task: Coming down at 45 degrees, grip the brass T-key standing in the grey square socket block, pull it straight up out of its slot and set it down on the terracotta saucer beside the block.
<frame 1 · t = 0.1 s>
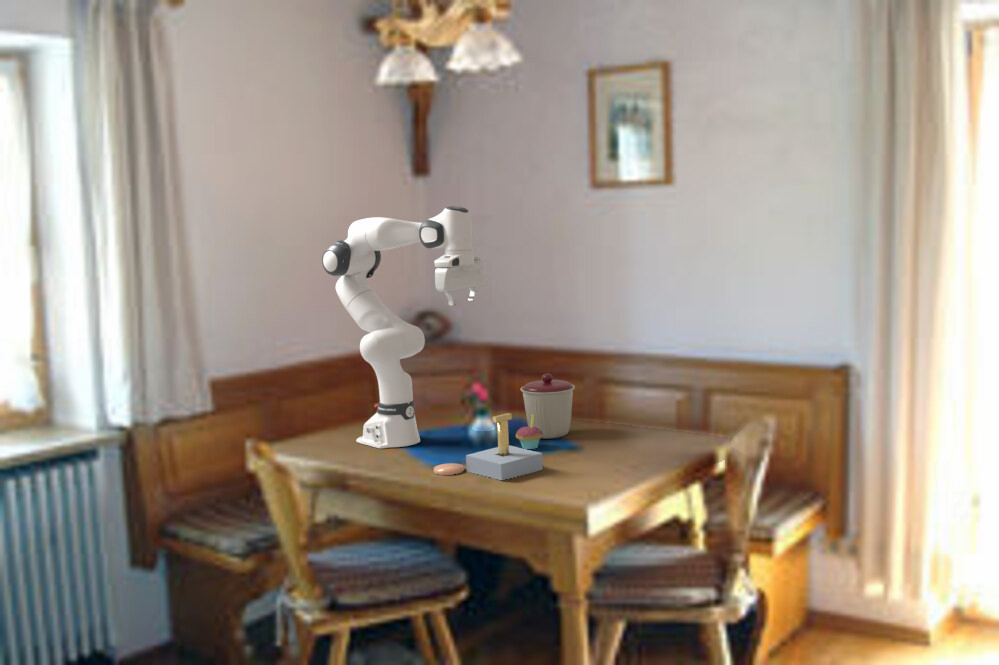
hand: (462, 303, 323), 48 cm above the table, tool pointing down, fingers open, 8 cm apart
grey square socket block: (504, 470, 308), on the table
cupcake: (529, 448, 333), on the table
saucer: (448, 471, 310), on the table
key: (503, 443, 306), in the grey square socket block
canister: (549, 436, 348), on the table
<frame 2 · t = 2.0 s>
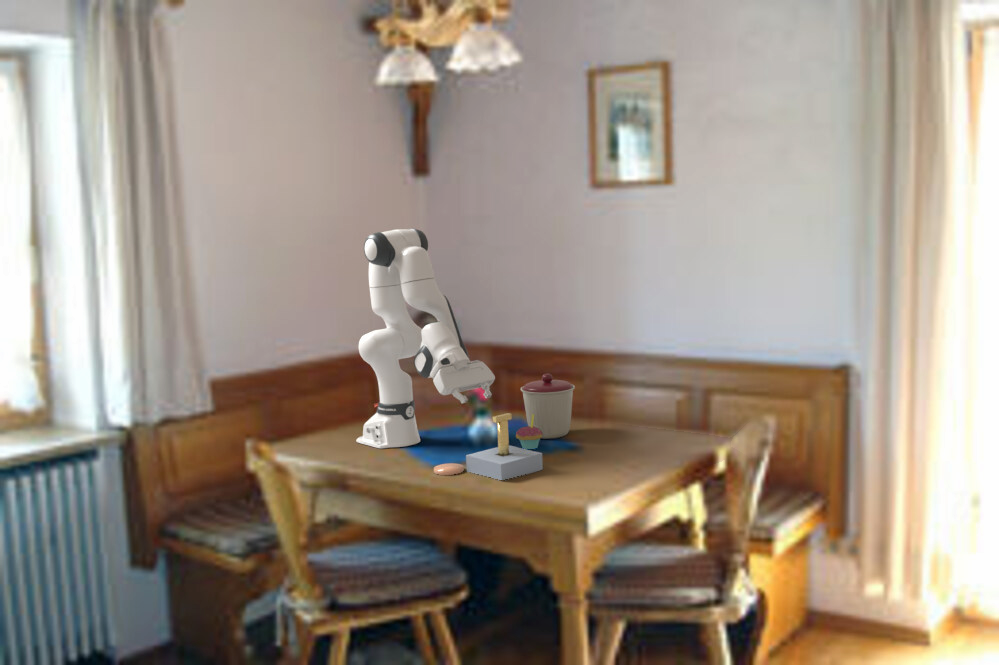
hand: (477, 399, 314), 20 cm above the table, tool tilted 45°, fingers open, 8 cm apart
nothing on the table moved.
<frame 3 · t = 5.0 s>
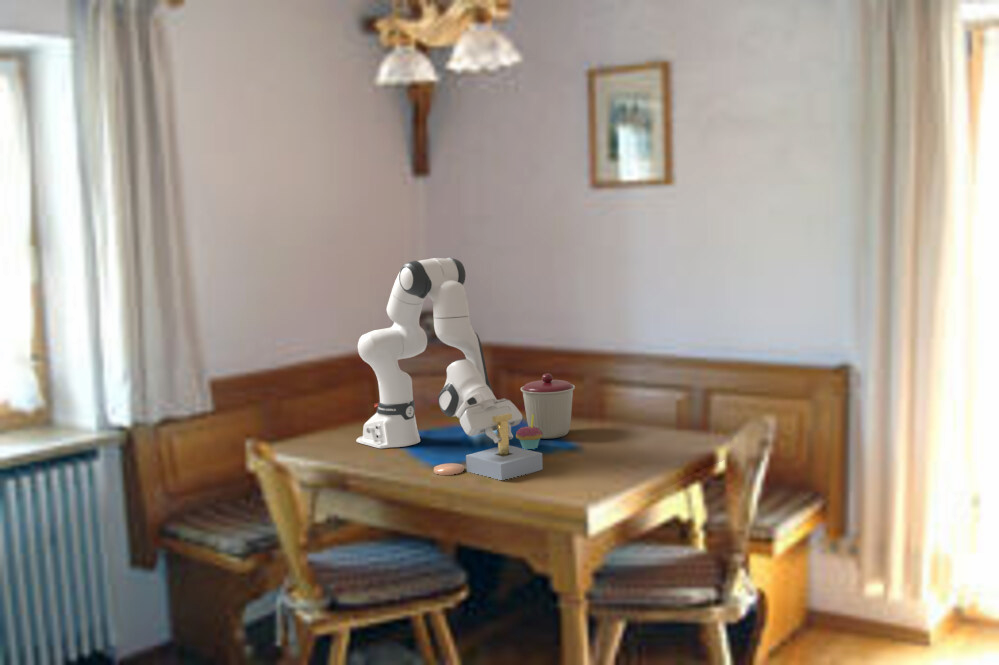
hand: (504, 440, 306), 9 cm above the table, tool tilted 45°, fingers closed on key, 3 cm apart
key: (503, 443, 306), in the grey square socket block, touching gripper
everything else where it was.
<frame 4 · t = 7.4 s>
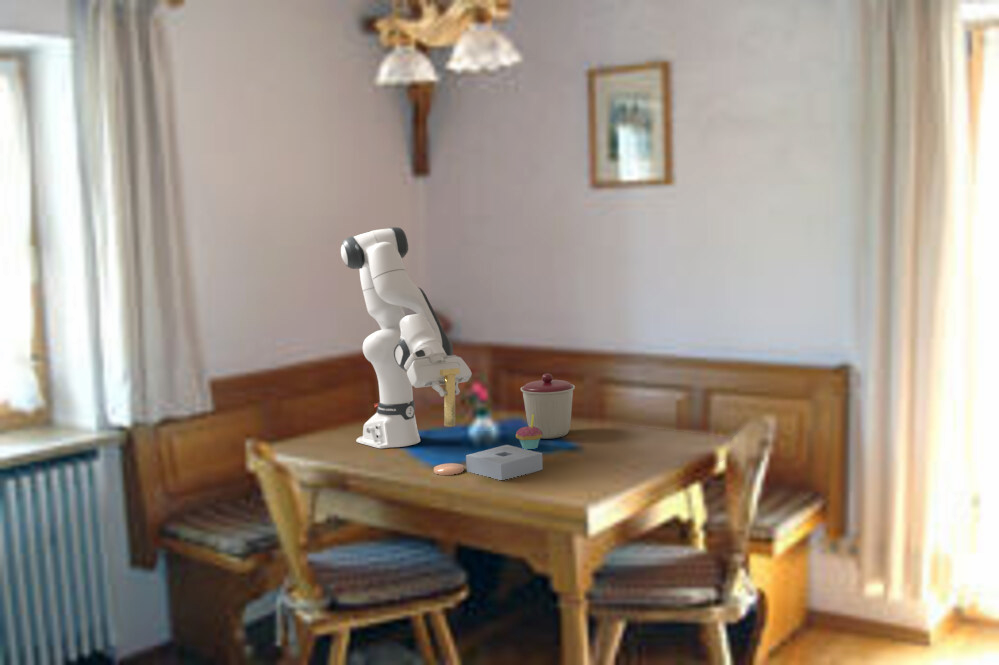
hand: (450, 394, 304), 24 cm above the table, tool tilted 45°, fingers closed on key, 3 cm apart
key: (449, 397, 305), point 23 cm above the table, touching gripper
everything else where it was.
when the fingers open (12 cm above the table, at t = 10.2 s): key drops 1 cm, resting on saucer.
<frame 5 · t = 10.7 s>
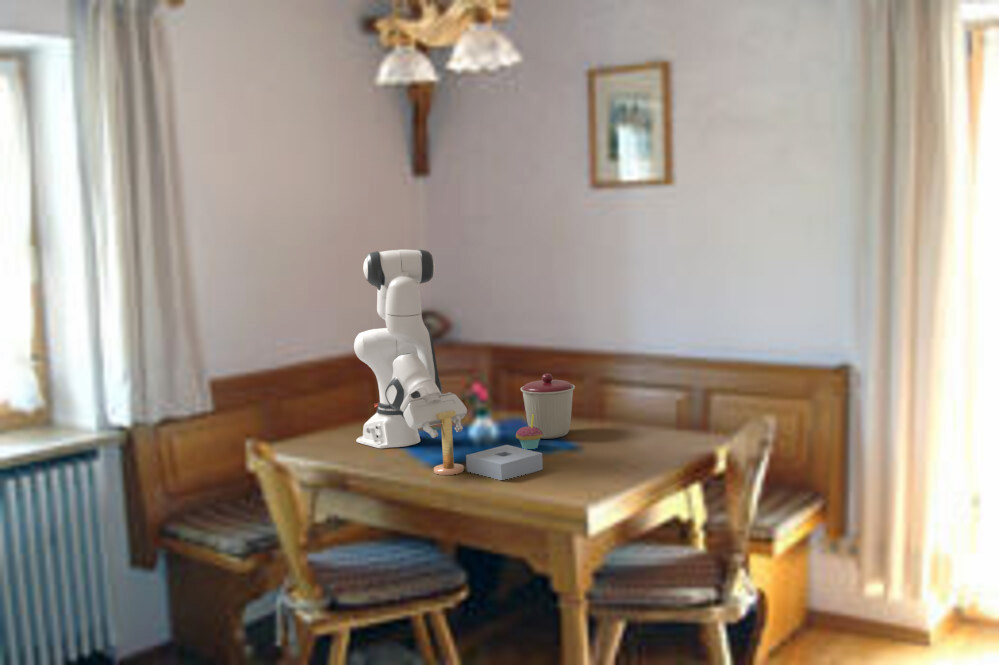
hand: (448, 433, 308), 12 cm above the table, tool tilted 45°, fingers open, 8 cm apart
key: (447, 439, 308), on the saucer, point 10 cm above the table
everything else where it was.
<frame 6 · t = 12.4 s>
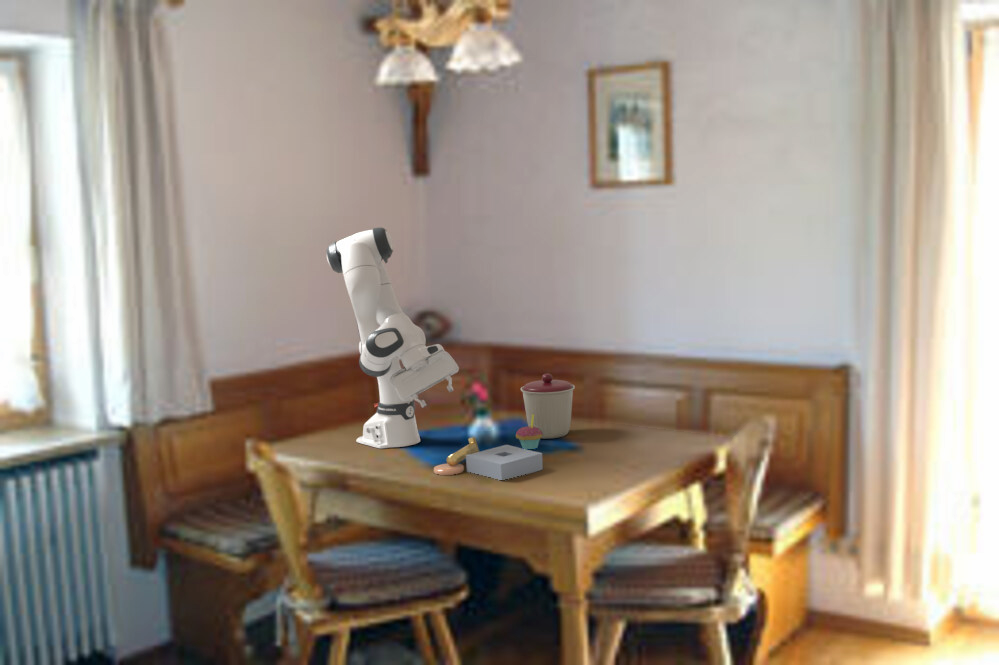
hand: (438, 398, 314), 21 cm above the table, tool tilted 35°, fingers open, 8 cm apart
key: (463, 453, 318), on the table, tilted 89°, touching saucer
everything else where it was.
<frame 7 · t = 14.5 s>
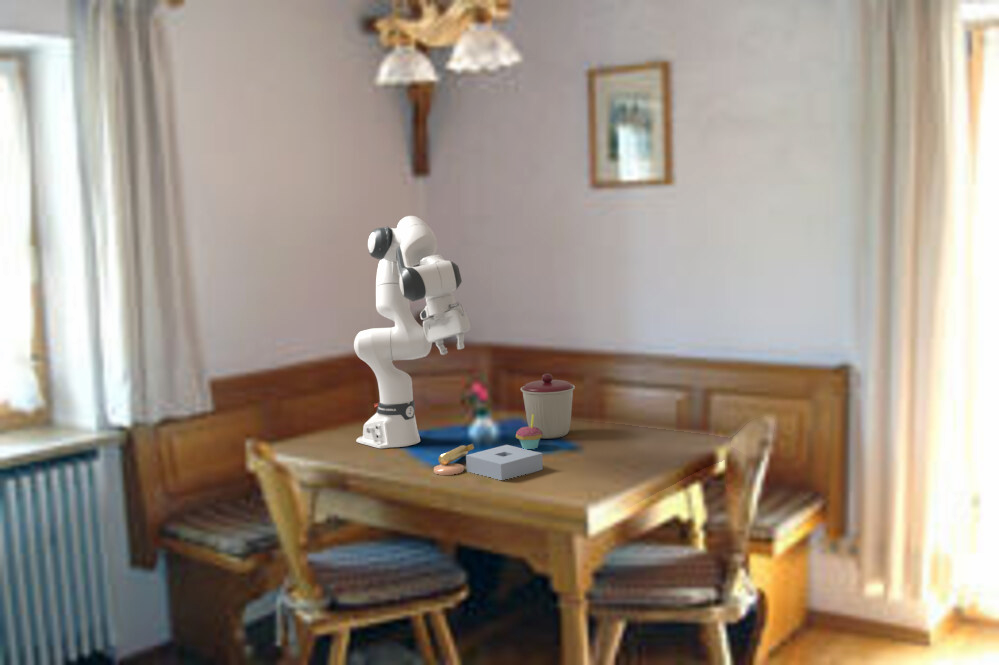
hand: (452, 351, 318), 34 cm above the table, tool tilted 15°, fingers open, 8 cm apart
key: (454, 454, 319), on the table, tilted 94°, touching saucer
everything else where it was.
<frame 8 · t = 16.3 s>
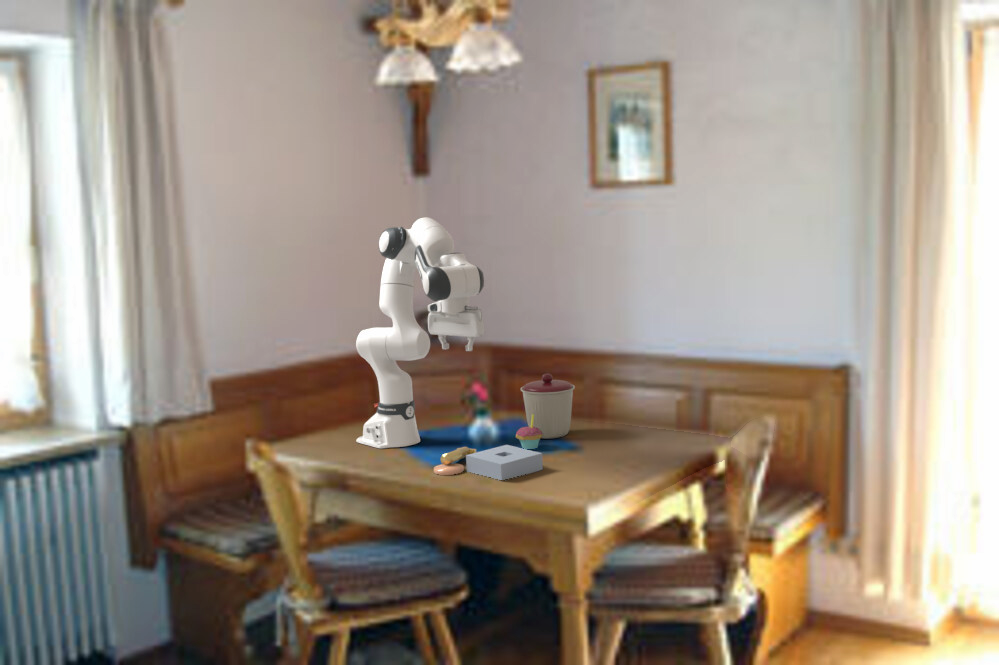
hand: (457, 350, 320), 34 cm above the table, tool pointing down, fingers open, 8 cm apart
at the end: key 2.4 cm from the saucer (horizontally); key point 2.2 cm above the table; the gripper is holding nothing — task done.
